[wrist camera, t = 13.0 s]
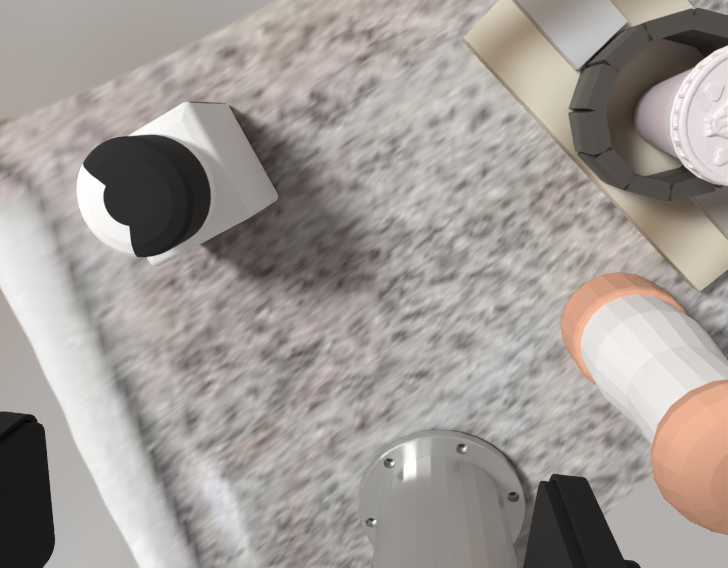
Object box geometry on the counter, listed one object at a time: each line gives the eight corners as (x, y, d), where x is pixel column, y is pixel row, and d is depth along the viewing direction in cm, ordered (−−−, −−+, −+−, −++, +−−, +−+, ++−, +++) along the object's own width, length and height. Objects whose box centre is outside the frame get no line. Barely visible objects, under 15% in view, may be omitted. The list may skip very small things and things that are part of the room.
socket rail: (823, 177, 37) (892, 188, 31) (689, 285, 39) (731, 312, 34) (590, -96, 34) (622, -134, 28) (461, 40, 36) (469, 28, 31)
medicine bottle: (227, 101, 39) (147, 96, 27) (281, 197, 40) (226, 232, 29) (140, 152, 40) (29, 169, 29) (195, 244, 42) (110, 294, 30)
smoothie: (728, 152, 35) (918, 177, 22) (619, 181, 36) (737, 221, 23) (714, 42, 34) (911, -4, 20) (600, 75, 35) (716, 53, 21)
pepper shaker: (538, 335, 41) (636, 514, 23) (607, 251, 39) (775, 374, 21) (621, 390, 42) (780, 608, 23) (693, 311, 40) (929, 481, 21)
